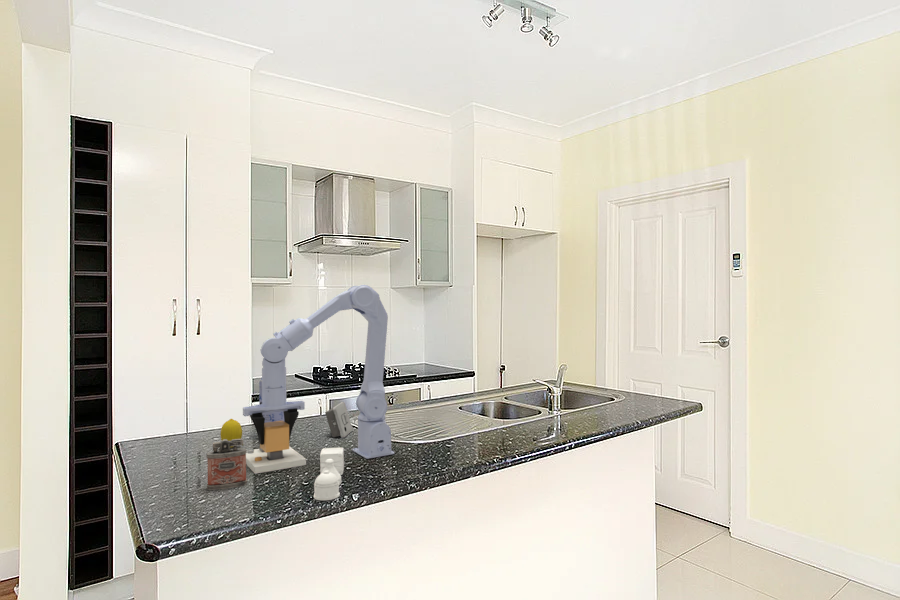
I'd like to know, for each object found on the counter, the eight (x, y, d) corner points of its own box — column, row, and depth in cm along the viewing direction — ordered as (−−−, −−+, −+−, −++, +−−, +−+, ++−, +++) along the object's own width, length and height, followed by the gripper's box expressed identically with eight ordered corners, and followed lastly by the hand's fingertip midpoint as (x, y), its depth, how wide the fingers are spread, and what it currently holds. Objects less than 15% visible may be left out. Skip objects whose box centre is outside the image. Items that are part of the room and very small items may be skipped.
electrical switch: (344, 438, 157) (341, 406, 157) (327, 440, 157) (323, 408, 157) (353, 431, 166) (350, 401, 166) (336, 432, 167) (333, 402, 167)
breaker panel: (306, 464, 132) (305, 446, 132) (255, 473, 125) (254, 454, 125) (287, 450, 145) (286, 433, 145) (240, 457, 139) (240, 439, 139)
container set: (321, 471, 127) (321, 448, 127) (344, 470, 128) (344, 446, 128) (312, 502, 108) (311, 474, 108) (338, 500, 108) (338, 473, 108)
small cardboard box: (289, 449, 132) (289, 424, 132) (265, 452, 129) (265, 427, 129) (282, 444, 137) (282, 420, 137) (260, 447, 134) (259, 423, 134)
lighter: (206, 491, 114) (206, 443, 114) (206, 486, 117) (206, 440, 117) (247, 485, 117) (246, 439, 117) (246, 480, 120) (246, 436, 120)
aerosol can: (253, 438, 158) (252, 370, 158) (269, 432, 166) (269, 366, 166) (276, 440, 156) (275, 370, 156) (292, 433, 163) (291, 367, 163)
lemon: (216, 449, 146) (215, 420, 146) (230, 444, 151) (230, 416, 151) (232, 451, 144) (232, 421, 144) (246, 446, 149) (246, 417, 149)
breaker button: (282, 462, 133) (282, 450, 133) (270, 465, 131) (270, 452, 131) (279, 460, 135) (279, 448, 135) (267, 462, 133) (267, 449, 133)
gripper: (298, 382, 140) (298, 434, 140) (239, 387, 132) (240, 442, 132) (307, 385, 134) (307, 440, 134) (246, 391, 127) (246, 449, 127)
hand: (274, 441), depth 133 cm, fingers closed on small cardboard box, 6 cm apart
